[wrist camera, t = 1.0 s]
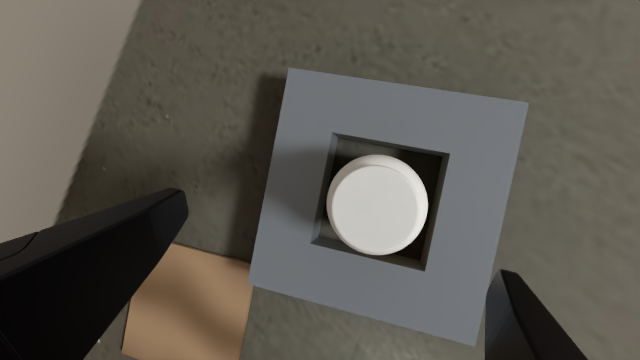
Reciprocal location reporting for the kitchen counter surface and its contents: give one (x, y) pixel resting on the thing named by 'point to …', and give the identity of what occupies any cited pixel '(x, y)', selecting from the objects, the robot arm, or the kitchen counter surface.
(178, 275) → the pad
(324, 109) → the grey rectangular frame
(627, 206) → the kitchen counter surface
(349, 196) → the supplement bottle
